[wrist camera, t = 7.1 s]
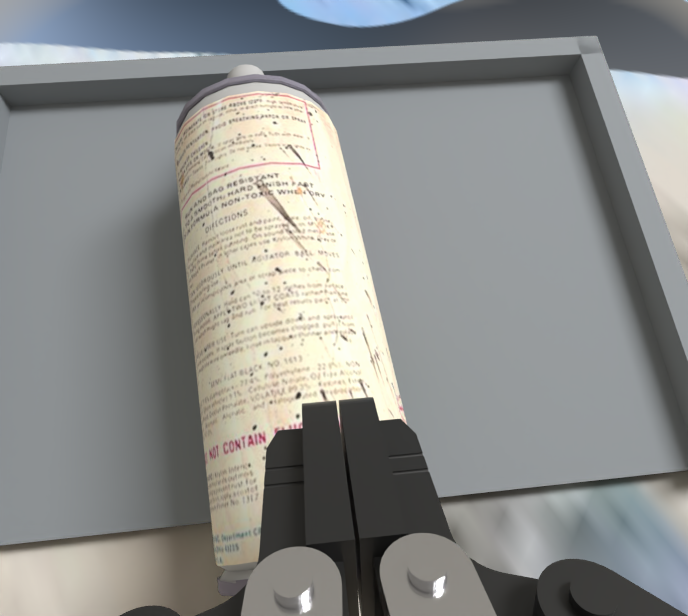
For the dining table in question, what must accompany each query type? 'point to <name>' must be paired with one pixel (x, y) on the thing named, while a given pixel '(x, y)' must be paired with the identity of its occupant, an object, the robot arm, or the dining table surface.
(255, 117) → the aerosol can
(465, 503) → the dining table surface
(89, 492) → the tray
